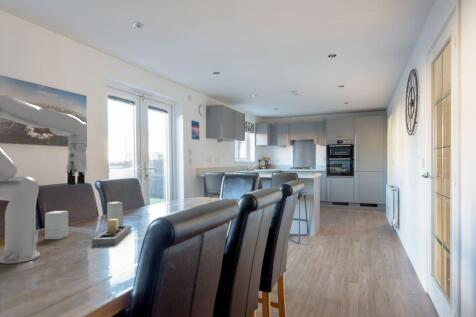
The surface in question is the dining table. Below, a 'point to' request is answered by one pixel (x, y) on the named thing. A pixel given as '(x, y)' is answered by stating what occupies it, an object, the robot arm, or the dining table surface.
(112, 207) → the skincare box
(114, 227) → the brass block
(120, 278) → the dining table surface
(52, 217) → the supplement box
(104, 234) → the grey compartment tray
